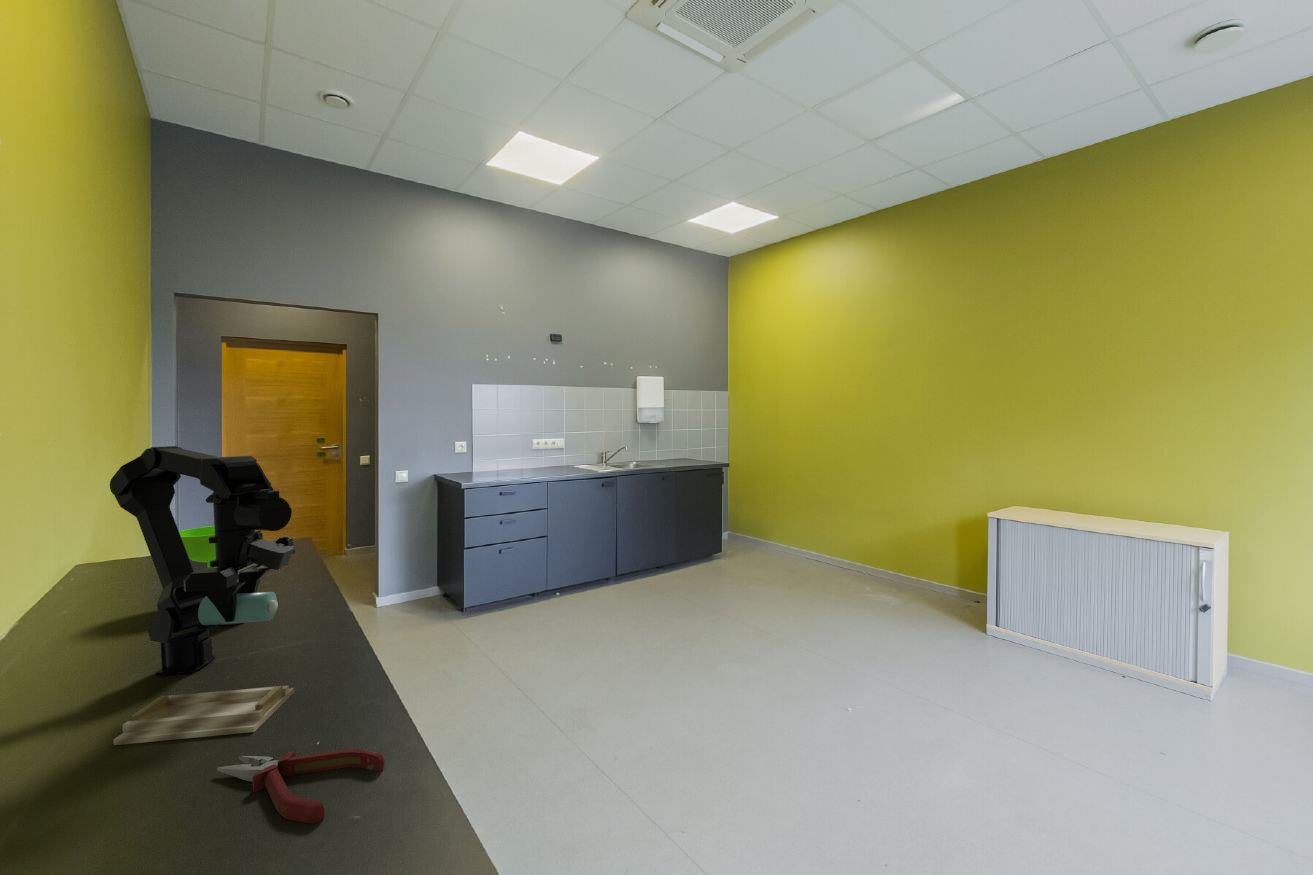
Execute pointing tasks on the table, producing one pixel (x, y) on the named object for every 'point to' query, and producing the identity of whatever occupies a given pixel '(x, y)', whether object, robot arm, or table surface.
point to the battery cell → (241, 609)
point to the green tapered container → (199, 544)
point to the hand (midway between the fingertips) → (239, 616)
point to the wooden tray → (203, 714)
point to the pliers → (271, 772)
